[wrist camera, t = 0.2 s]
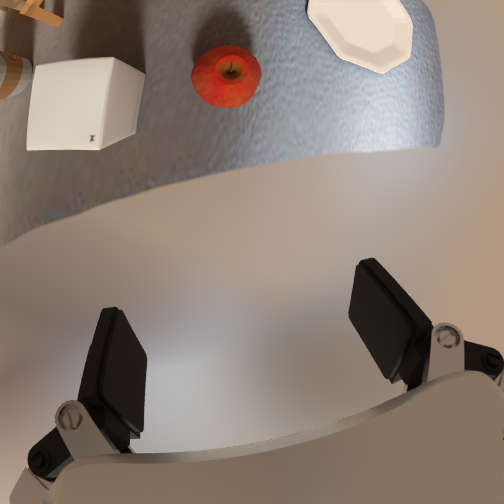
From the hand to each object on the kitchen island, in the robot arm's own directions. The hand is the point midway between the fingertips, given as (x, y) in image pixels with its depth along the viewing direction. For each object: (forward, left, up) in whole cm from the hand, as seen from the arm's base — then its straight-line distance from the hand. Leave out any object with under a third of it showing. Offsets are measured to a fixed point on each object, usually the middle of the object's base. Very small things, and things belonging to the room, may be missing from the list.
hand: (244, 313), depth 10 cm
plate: (-34, +5, -32) cm, 47 cm away
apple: (-10, -5, -31) cm, 33 cm away
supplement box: (0, -17, -31) cm, 35 cm away
